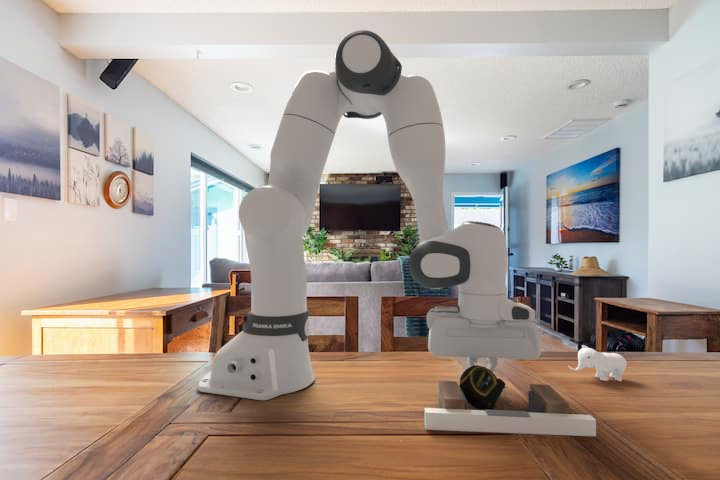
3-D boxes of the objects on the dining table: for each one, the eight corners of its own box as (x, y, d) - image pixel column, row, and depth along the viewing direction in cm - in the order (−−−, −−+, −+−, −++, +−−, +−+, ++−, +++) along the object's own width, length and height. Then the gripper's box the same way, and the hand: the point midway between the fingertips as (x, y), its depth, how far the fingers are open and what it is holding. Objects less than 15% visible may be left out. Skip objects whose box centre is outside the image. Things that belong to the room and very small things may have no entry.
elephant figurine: (558, 372, 78) (558, 343, 78) (613, 372, 78) (613, 342, 78) (579, 386, 71) (579, 353, 71) (640, 385, 71) (640, 353, 71)
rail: (425, 432, 54) (425, 402, 54) (421, 406, 62) (421, 380, 62) (596, 441, 51) (596, 409, 51) (567, 412, 60) (567, 385, 60)
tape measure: (482, 421, 59) (494, 413, 57) (449, 390, 62) (458, 381, 59) (499, 392, 64) (510, 384, 61) (467, 364, 66) (476, 355, 64)
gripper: (428, 309, 66) (428, 384, 66) (544, 311, 64) (544, 389, 64) (425, 303, 73) (425, 371, 73) (531, 305, 71) (531, 375, 71)
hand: (482, 380), depth 68 cm, fingers closed
